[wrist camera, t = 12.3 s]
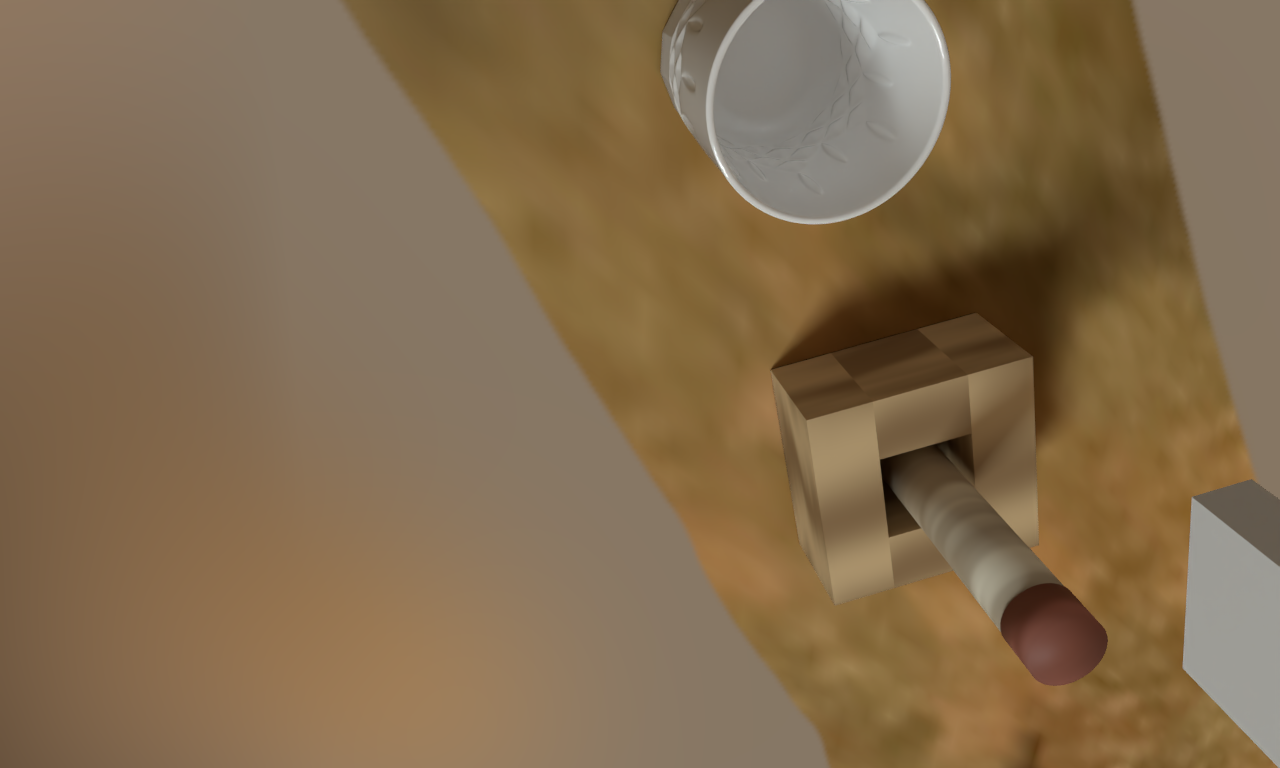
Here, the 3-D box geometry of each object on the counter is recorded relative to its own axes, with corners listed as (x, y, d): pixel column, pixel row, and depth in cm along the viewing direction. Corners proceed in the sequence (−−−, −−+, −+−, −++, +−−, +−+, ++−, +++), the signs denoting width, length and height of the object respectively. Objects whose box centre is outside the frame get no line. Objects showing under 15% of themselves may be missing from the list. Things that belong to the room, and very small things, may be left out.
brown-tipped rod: (853, 415, 49) (1027, 632, 35) (911, 399, 49) (1107, 608, 35) (860, 466, 50) (1030, 695, 36) (916, 450, 50) (1107, 671, 36)
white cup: (866, -24, 40) (990, 2, 31) (800, 172, 43) (897, 246, 34) (676, -82, 38) (752, -72, 29) (621, 128, 41) (675, 196, 32)
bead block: (770, 369, 47) (806, 420, 42) (976, 312, 48) (1032, 356, 43) (799, 543, 51) (834, 605, 47) (986, 489, 52) (1038, 545, 48)
